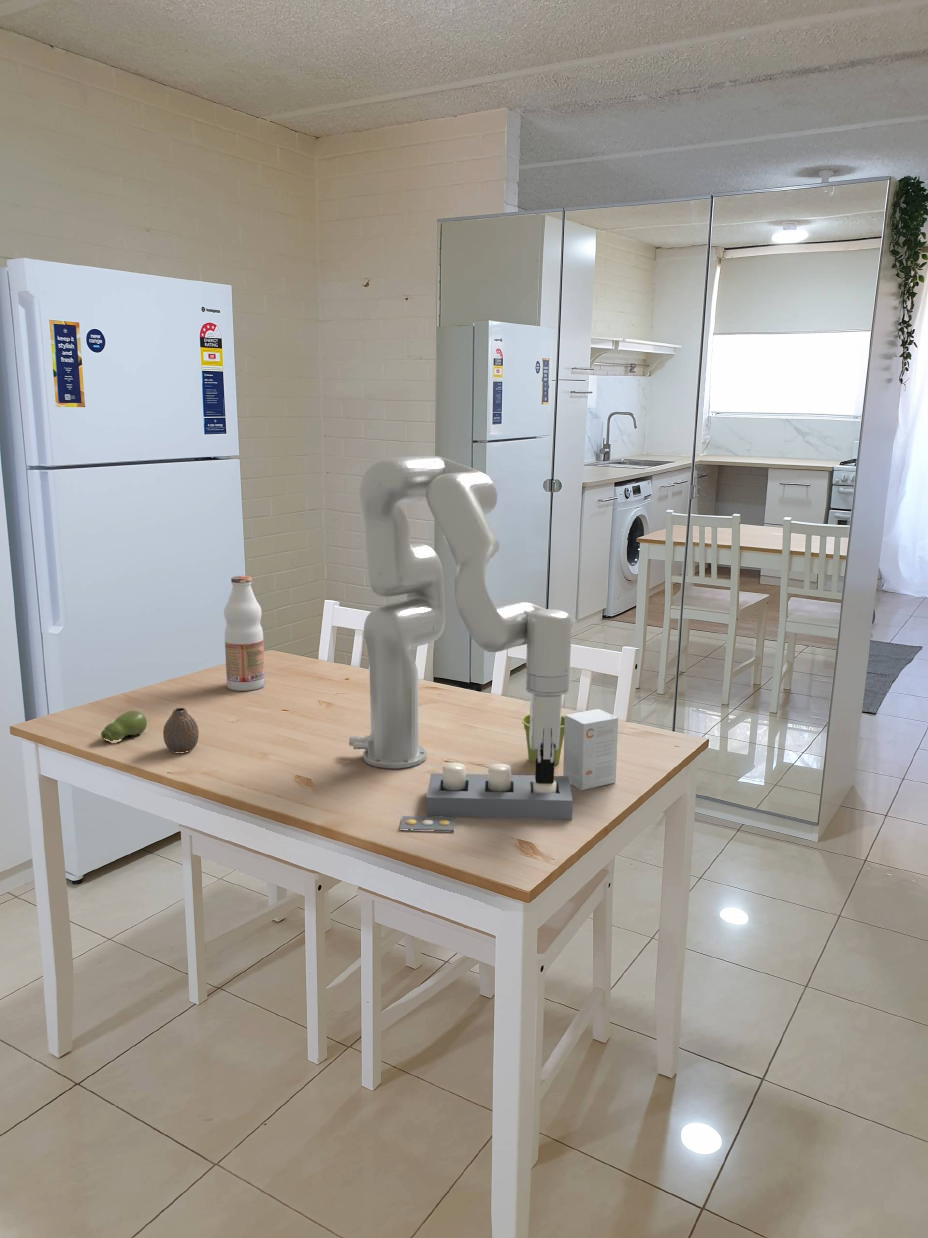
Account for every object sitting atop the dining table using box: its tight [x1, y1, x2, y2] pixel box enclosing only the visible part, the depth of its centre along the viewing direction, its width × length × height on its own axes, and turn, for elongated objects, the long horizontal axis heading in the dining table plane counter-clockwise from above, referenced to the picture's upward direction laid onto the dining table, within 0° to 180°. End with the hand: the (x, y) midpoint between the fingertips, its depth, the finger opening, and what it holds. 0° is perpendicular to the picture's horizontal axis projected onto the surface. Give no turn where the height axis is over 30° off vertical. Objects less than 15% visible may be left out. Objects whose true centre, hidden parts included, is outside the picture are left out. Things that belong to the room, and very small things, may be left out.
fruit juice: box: [223, 575, 266, 692], centre depth 235 cm, size 9×9×28 cm
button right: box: [533, 780, 556, 793], centre depth 166 cm, size 4×4×4 cm
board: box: [425, 772, 574, 821], centre depth 167 cm, size 25×11×4 cm, turn 88°
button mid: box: [487, 763, 512, 791], centre depth 166 cm, size 4×4×4 cm
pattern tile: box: [399, 815, 456, 833], centre depth 158 cm, size 9×5×1 cm, turn 88°
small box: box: [562, 708, 619, 791], centre depth 177 cm, size 8×6×13 cm
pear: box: [100, 710, 148, 741], centre depth 200 cm, size 6×5×10 cm
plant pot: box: [521, 713, 565, 766], centre depth 187 cm, size 9×9×9 cm
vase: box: [162, 707, 200, 753], centre depth 192 cm, size 7×7×9 cm
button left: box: [442, 762, 467, 790], centre depth 166 cm, size 4×4×4 cm
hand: (544, 781), depth 166 cm, fingers closed
